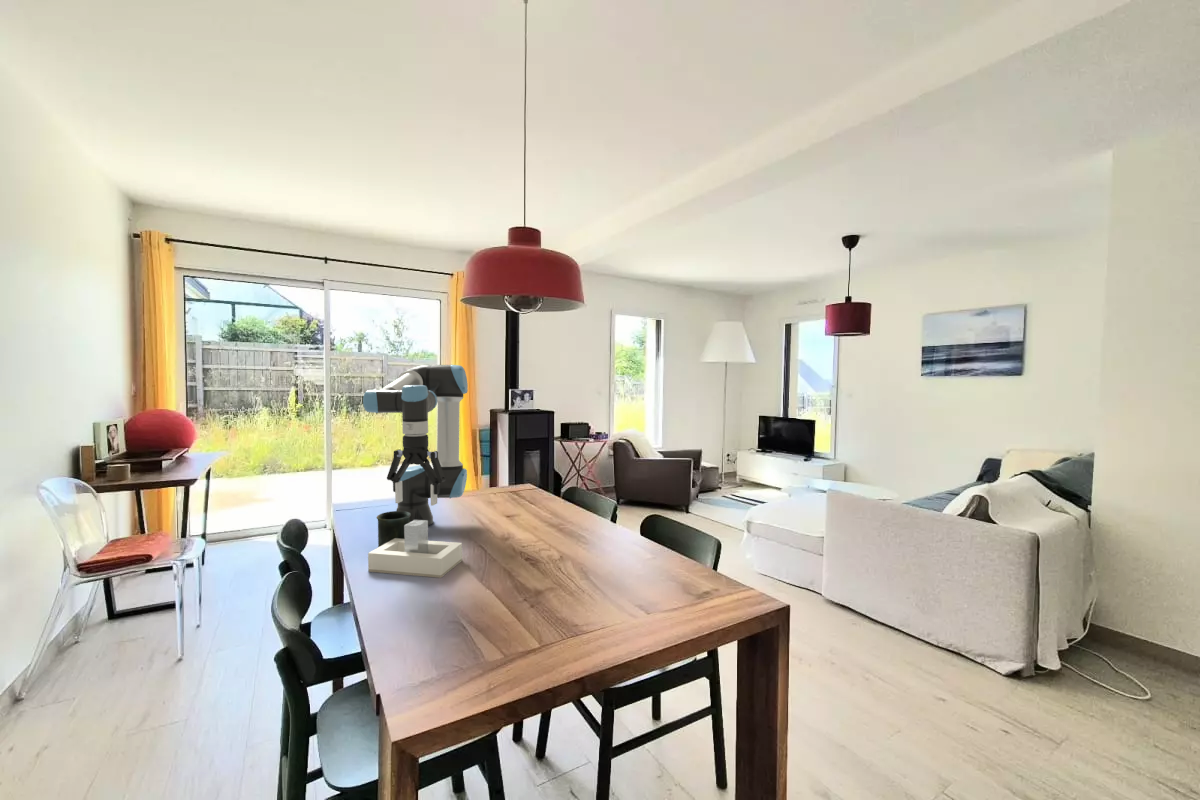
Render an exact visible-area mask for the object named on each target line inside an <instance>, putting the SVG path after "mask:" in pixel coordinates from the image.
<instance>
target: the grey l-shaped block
mask: <svg viewBox="0 0 1200 800" xmlns="http://www.w3.org/2000/svg"><path fill="white" fill-rule="evenodd" d="M404 537H405V552H412V553H425V554H428V541H429V526H428V521H427V520H413V521H412V522H410V523H408V524H406V525H404Z"/></svg>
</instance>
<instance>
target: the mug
mask: <svg viewBox="0 0 1200 800" xmlns="http://www.w3.org/2000/svg"><path fill="white" fill-rule="evenodd" d="M410 516H411V513H409V512H406V511H396V510H393V511H387V512H382V513H380V514H378V515H377V516H376V519H377V534H378V535H377V538H378V539H377V548H378V547H380V546H382V545H384V544H385V543H387V542H389V541H391V540H393V539H394V538H399V539H405V537H404V525H406V524H408V523H410Z"/></svg>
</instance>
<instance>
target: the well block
mask: <svg viewBox="0 0 1200 800" xmlns="http://www.w3.org/2000/svg"><path fill="white" fill-rule="evenodd" d="M367 555H368V557H367V561H368V562H367V563H368V567H367V569H368V571H367V572H368V573H369V572H370V573H381V574H389V575H390V574H392V575H403V576H415V577H428V578H437V579H441V578H443V577H444V576H445V575H446V574H448V573H449V572H450V571H451V570H452V569H454V568H455V567H456V566H457V565H459V564H460V563H461V562H462V561H463V542H453V541H452V542H451V541H440V540H437V541H436V540H428V554H425V553H412V552H405V539H399V538H394V539H393V540H391V541H389V542H387V543H385V544H384V545H382V546H380V547H378V546H377V548H375V549H373V550H371V551H369V552H368V553H367Z"/></svg>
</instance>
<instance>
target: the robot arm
mask: <svg viewBox="0 0 1200 800" xmlns="http://www.w3.org/2000/svg"><path fill="white" fill-rule="evenodd" d="M468 390H469V388H468V378H467V373H466V370H465V368H464V366H462V365H458V364H422V365H417V366H414V367H411V368H408V369H406V370H405V371H403V372H402V373H400V375H398V378H397V379H395V380H394V381H392V382H390V383H388V384H387V385H386V386H384V387H382V388H381V389H368V390H366V391H365V392H364V393H363V398H362V405H363V408H364V411H366V412H367V413H372V414H373V413H375V414H383V413H385V414H388V413H390V414H391V413H393V414H394V413H398V414H399V413H400V414H402V416H401V417H402V419H401V420H402V421H401V422H402V434H403V436H402V449H397V450H394V451H393V458H392V461H391V465H390V467H389V469H388V473H387V476H386V480H387V481H391V482H392V491H393V493H394V495H395V496H394V497H395V498H394V499H395V504H397V508H396V510H395V511H406V512H409V513H411V516H410V522H412V521H413V520H427V521H428V527H429V526H430V525H432V524H433V523H434V516H433V513H432V511H431V507H430V506H436V505H437V504H438V499H455V498H460V497H462V496H463V494H464V493H465V489H466V485H467V479H468V470H467V468H464V464H463V462H461V461H460V402H461V401H462V400H463V399H464V395H465V394H467V393H468ZM436 407H437V421H436V422H437V424H436V425H437V426H436V427H437V430H436V431H437V432H436V433H437V435H436V437H437V438H436V439H437V440H436V447H437V449H436V450H434V451H429V435H428V434H429V417H428V416H429V413H430V412H431V411H433V410H434V409H435V408H436ZM402 457H403V458H404V460H403V461H402V462H401V460H402ZM428 458H429V459H430V460H429V459H428ZM430 462H431V463H430ZM400 463H401V466H400ZM410 465H413V466H410ZM399 466H400V467H399ZM429 499H430V504H429Z"/></svg>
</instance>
